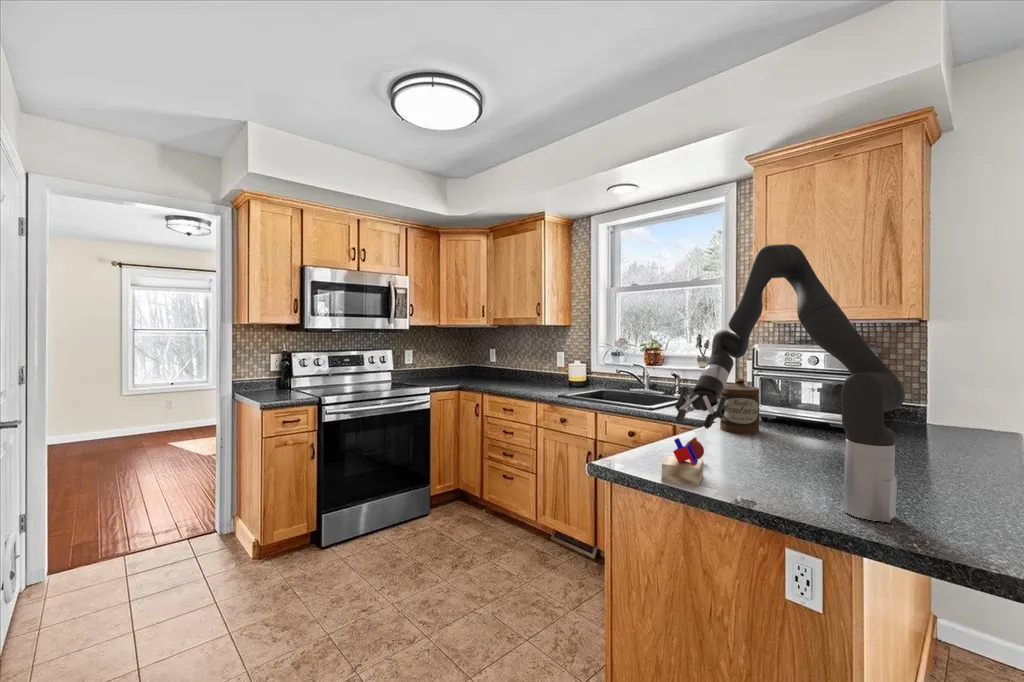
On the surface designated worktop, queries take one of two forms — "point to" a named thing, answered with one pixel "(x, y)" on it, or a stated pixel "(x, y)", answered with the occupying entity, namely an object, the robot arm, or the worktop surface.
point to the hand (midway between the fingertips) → (691, 424)
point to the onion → (696, 447)
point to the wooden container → (741, 408)
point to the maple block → (682, 471)
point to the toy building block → (684, 453)
